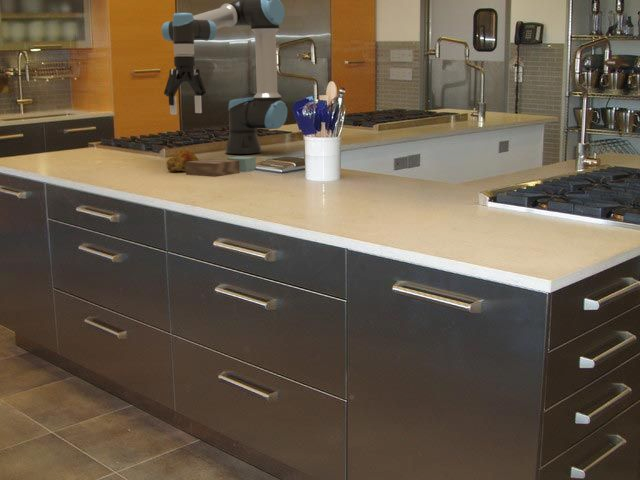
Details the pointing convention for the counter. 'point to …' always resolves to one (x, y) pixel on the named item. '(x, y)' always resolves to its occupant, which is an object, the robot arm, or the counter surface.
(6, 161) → the counter surface
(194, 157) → the rock
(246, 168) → the teal block
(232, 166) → the walnut block
